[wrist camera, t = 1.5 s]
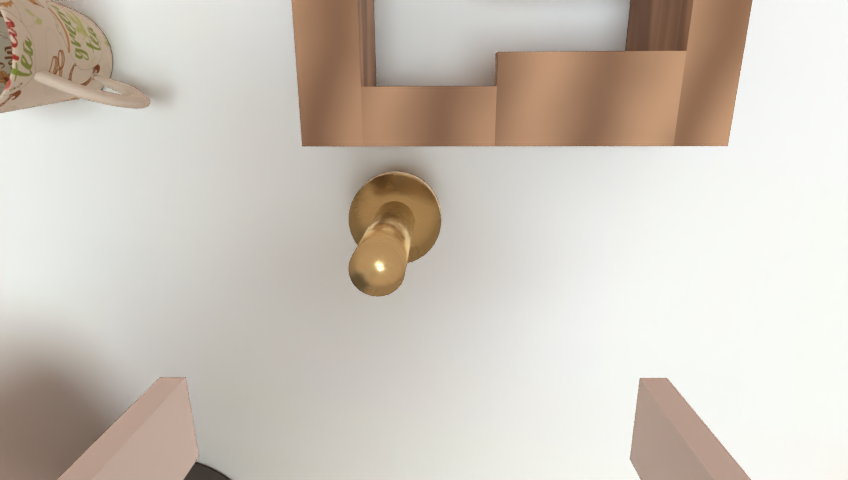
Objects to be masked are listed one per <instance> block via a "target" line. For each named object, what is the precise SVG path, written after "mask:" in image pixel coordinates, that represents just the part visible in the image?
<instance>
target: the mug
mask: <svg viewBox="0 0 848 480" xmlns="http://www.w3.org/2000/svg"><path fill="white" fill-rule="evenodd" d="M112 64H113V61H112V53H111V49H110V46H109V43H108V41H107V39H106V37H105V35H104V34H103V32H102V31H101V30H100V29H99V27H98V26H97V25H96V24H95V23H94V22H92V21H91V20H90V19H89V18H87V17H86V16H84V15H82V14H80V13H78V12H76V11H74V10H72V9H69V8H67V7H65V6H62V5H60V4H58V3H55V2H53V1H51V0H0V113H4V112H9V111H14V110H20V109H25V108H31V107H36V106H42V105H47V104H52V103H58V102H63V101H69V100H74V99H80V98H82V99H86V100H89V101H94V102H98V103H102V104H107V105H112V106H117V107H125V108H145V107H147V106H149V104H150V99H149V98H148V96H146V95H145V94H144V93H142V92H141V91H139V90H138V89H136V88H135V87H133V86H131V85H128V84H125V83H122V82H119V81H116V80H113V79H110V75H111V72H112ZM104 86H106V87H108V88H110V89H112V90H114V91H116V92H119V93H120V94H116V93H111V92H107V91H102V90H101V89H102V88H103V87H104Z"/></svg>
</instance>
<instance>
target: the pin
mask: <svg viewBox="0 0 848 480" xmlns="http://www.w3.org/2000/svg"><path fill="white" fill-rule="evenodd" d="M349 226H350V230H351V234H352V236H353V238H354V240H355V242H356V244H357V245H358V246H357V248H356V250H355V252H354V254H353V255H352V257H351V259H350V262H349V275H350V278H351V280H352V282H353V284H354V285H355V286H356V287H357V288H358V289H359V290H360V291H362V292H363V293H365V294H368V295H371V296H385V295H388V294H390V293H392V292H394V291H395V290H396V289H397V288H398V287H399V286H400V285H401V283H402V281H403V279H404V275H405V270H406V265H407V263H409V262H412V261H415V260H417V259H419V258H420V257H422V256H423V255H425V254H426V253H427V252H428V251H429V250H430V249H431V248H432V246H433V245H434V243H435V242H436V240H437V238H438V235H439V232H440V227H441V210H440V205H439V202H438V199H437V197H436V195H435V193H434V192H433V190H432V189H431V188H430V186H429V185H428V184H427V183H425V182H424V181H423V180H422V179H420V178H419V177H417V176H414V175H412V174H409V173H405V172H397V171H394V172H386V173H383V174H380V175H377V176H375V177H373V178H372V179H370V180H369V181H368V182H367V183H366V184H364V186H363V187H362V188H361V189H360V190H359V191H358V193H357V194H356V196H355V197H354V199H353V201H352V203H351V207H350V211H349Z"/></svg>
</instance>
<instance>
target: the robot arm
mask: <svg viewBox="0 0 848 480" xmlns="http://www.w3.org/2000/svg"><path fill="white" fill-rule="evenodd" d="M198 457H199V452H198V446H197V440H196V435H195V429H194V423H193V417H192V412H191V406H190V400H189V394H188V388H187V383H186V377H160V378H159V379H158V380H157V381H156V382H155V383H154V384H153V385H152V386H151V387H150V388H149V389H148V390H147V391H146V392H145V393H144V394H143V395H142V396H141V397H140V398H139V399H138V400H137V401H136V402H135V403H134V404H133V405H132V406H131V407H130V408H129V409H128V410H127V411H126V412H125V413H124V414H123V415H122V416H121V417H120V418H119V419H117V420H116V421H115V422H114V423H113V424H112V425H111V426H110V427H109V428H108V429H107V430H106V431H105V432H104V433H103V434H102V435H101V436H100V437H99V438H98V439H97V440H96V441H95V442H94V443H93V444H92V445H91V446H90V447H89V448H88V449H87V450H86V451H85V452H84V453H83V454H82V455H81V456H80V457H79V458H78V459H77V460H76V461H75V462H74V463H73V464H72V465H71V466H70V467H69V468H68V469H67V470H66V471H65V472H64V473H63V474H62V475H61V476H60V477H59V478H58V479H57V480H228V479H227V478H225V477H224V476H222V475H221V474H219V473H217V472H215V471H213V470H212V469H209V468H207V467H204V466H202V465H199V464H196V463H195V462H196V460H197V459H198ZM630 460H631V462H632V464H633V466H634V468H635V470H636V471H637V473H638V475H639V477H640V479H641V480H751V479H750V478H749V477H748V475H747V474H746V473H745V472H744V470H743V469H742V468H741V467H740V466H739V464H738V463H737V462H736V461H735V460H734V458H733V457H732V456H731V455H730V454H729V452H728V451H727V450H726V449H725V447H724V446H723V445H722V444H721V443H720V441H719V440H718V439H717V438H716V437H715V435H714V434H713V433H712V432H711V431H710V429H709V428H708V427H707V426H706V425H705V423H704V422H703V421H702V420H701V418H700V417H699V416H698V415H697V414H696V412H695V411H694V410H693V409H692V408H691V406H690V405H689V404H688V403H687V402H686V400H685V399H684V398H683V397H682V396H681V394H680V393H679V392H678V391H677V389H676V388H675V387H674V386H673V385H672V383H671V382H670V381H669V380H668V379H667V378H640V380H639V388H638V396H637V404H636V413H635V421H634V429H633V437H632V445H631V454H630Z"/></svg>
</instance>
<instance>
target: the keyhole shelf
mask: <svg viewBox="0 0 848 480" xmlns="http://www.w3.org/2000/svg"><path fill="white" fill-rule="evenodd" d="M751 5H752V0H631V2H630V12H629V21H628V31H627V40H626V50H625V51H573V52H497V53H496V55H495V84H494V86H399V87H376V60H375V26H374V0H292V11H293V25H294V39H295V53H296V66H297V80H298V94H299V108H300V122H301V135H302V146H728V142H729V136H730V130H731V124H732V118H733V112H734V106H735V100H736V94H737V88H738V82H739V76H740V70H741V65H742V59H743V53H744V47H745V41H746V35H747V29H748V23H749V17H750V11H751Z"/></svg>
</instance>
